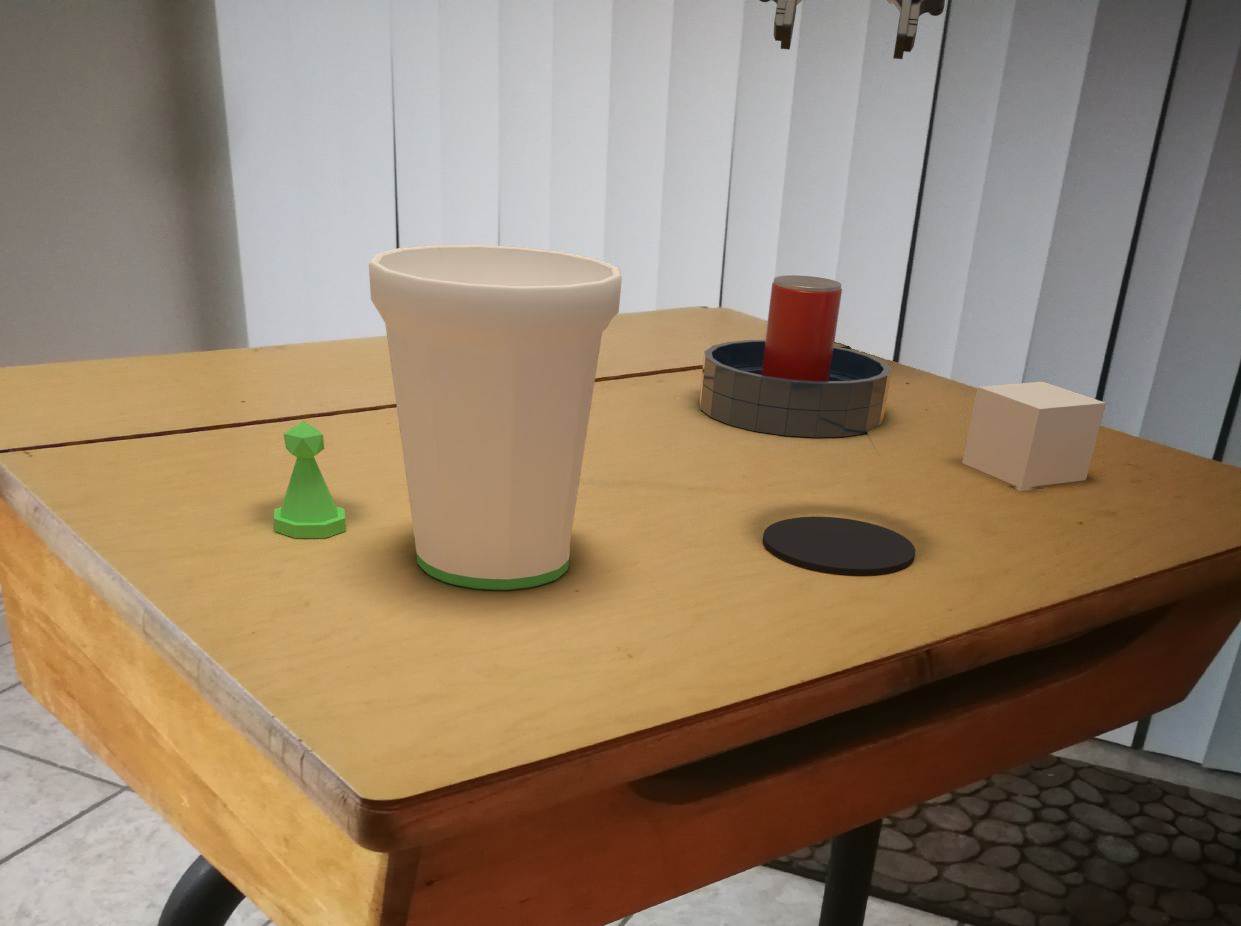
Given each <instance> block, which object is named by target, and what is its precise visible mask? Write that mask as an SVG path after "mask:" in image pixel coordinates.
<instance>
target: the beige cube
mask: <svg viewBox="0 0 1241 926" xmlns="http://www.w3.org/2000/svg"><path fill="white" fill-rule="evenodd" d="M1106 404H1107V402H1105V401H1102V400H1099V399H1096V398H1093V397H1090V396H1087V395H1085V394H1080V393H1078V392H1074V391H1072V390H1069V389H1067V388H1063V387H1060V386H1057V385H1054V384H1051V383H1048V382H1045V381H1032V382H1022V383H1021V382H1020V383H1007V384H997V385H996V384H993V385H984V386H977V389H976V394H975V399H974V402H973V409H972V413H971V418H970V422H969V427H968V432H967V437H966V442H965V446H964V450H963V451H964V452H963V456H962V461H961V463H962V464H963V465H966V466H968V467H971V468H973V469H976V470H977V471H979V472H982V473H985V474H987V475H989V476H992V477H994V478H996V479H999V480H1001V481H1003V482H1005V483H1008V484H1010V485H1008V487H1009V488H1012V489H1013V490H1016V491H1019V492H1028V491H1035V490H1042V489H1044V486H1049V485H1050V486H1051V485H1058V484H1067V483H1074V482H1081V481H1087V477H1088V474H1089V470H1090V466H1091V462H1092V460H1093V459H1092V458H1093V455H1094V451H1095V447H1096V444H1097V439H1098V436H1099V432H1100V428H1101V424H1102V420H1103V417H1104V413H1105V408H1106ZM1042 486H1043V487H1042Z"/></svg>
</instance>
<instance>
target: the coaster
mask: <svg viewBox="0 0 1241 926" xmlns="http://www.w3.org/2000/svg"><path fill="white" fill-rule="evenodd" d="M762 543H763V546H764V548H765V549H766V550H767V551H768V552H769V553H770V554H772V555H773V556H775V557H776V558H778V559H780V560H782V561H783V562H787V563H789V564H791V565H795V566H797V567H801V568H804V569H808V570H811V571H816V572H822V573H827V574H834V575H835V574H836V575H845V576H877V575H883V574H884V575H885V574H890V573H895V572H898V571H901V570H903V569H906V568H907V567H909V566H910V565H912V563H913V562H914V559H915V556H916V547H915V545H914V543H912V542H911V541H910V539H908V538H907V537H906V536H904V535H902V534H900V533H899V532H897V531H895V530H892V529H890V528H887V527H884V526H881V525H878V524H876V523H871V522H867V521H862V520H858V519H851V518H846V517H845V518H844V517H835V516H800V517H791V518H786V519H782V520H779V521H776V522H774V523H772V524H770V525H769V526H767V527H766V528H765V530H764V531H763V534H762Z"/></svg>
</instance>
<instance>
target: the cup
mask: <svg viewBox="0 0 1241 926" xmlns="http://www.w3.org/2000/svg"><path fill="white" fill-rule="evenodd" d="M368 275H369V288H370V289H369V291H370V301H371V302H372V304H373V305H374V307H375V309H376V310H377V312H378V314H379V315H380V317H381V319H382V320H383V322H384V326H385V332H386V338H387V346H388V353H389V362H390V368H391V369H390V370H391V376H392V383H393V390H394V391H393V392H394V398H395V405H396V413H397V419H398V427H399V435H400V441H401V449H402V455H403V463H404V470H405V479H406V484H407V485H406V487H407V492H408V499H409V500H408V501H409V507H410V514H411V515H410V516H411V523H412V528H413V537H414V544H415V551H416V562H417V564H418V566H419V567H420V569H422V570H423V572H425V573H426V574H427V575H429V576H430V577H432V578H435V579H436V580H439V581H441V582H444V583H446V584H448V585H453V586H457V587H462V588H469V589H475V590H489V591H512V590H513V591H514V590H520V589H521V590H523V589H529V588H536V587H538V586H543V585H546V584H549V583H551V582H555V581H557V580H558V579H559V578H560V577H562V576H563V575H564V574H565V573H566V572H567V571H568V570H569V566H570V552H571V550H570V549H571V548H570V546H571V538H572V533H573V525H574V519H575V514H576V513H575V512H576V505H577V500H578V493H579V486H580V481H581V480H580V479H581V473H582V467H583V460H584V454H585V447H586V440H587V435H588V429H589V428H588V427H589V422H590V415H591V409H592V401H593V394H594V388H595V382H596V375H597V369H598V363H599V357H600V356H599V355H600V349H601V343H602V336H603V333H604V332H605V330H607V329H608V328H609V326H610V323H611V321H612V320H613V319H614V318H615V317H616V316H617V315H618V314H619V313H620V305H621V304H620V302H621V293H622V292H621V290H622V281H623V277H622V274H621V270H620V268H619V267H618V266H616V265H613V264H611V263H610V262H609V263H608V262H606V261H603V260H601V259H598V258H595V257H589V256H584V255H580V254H576V253H571V252H567V251H558V250H551V249H550V250H549V249H540V248H533V247H525V246H508V245H491V244H432V245H419V246H410V247H409V246H408V247H398V248H394V249H390V250H386V251H382V252H379V253H375V255H374V256H373V257H372V259H371V260H370V262H369V263H368Z"/></svg>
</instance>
